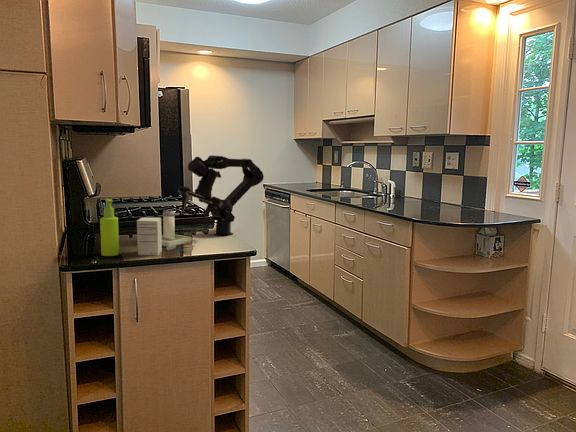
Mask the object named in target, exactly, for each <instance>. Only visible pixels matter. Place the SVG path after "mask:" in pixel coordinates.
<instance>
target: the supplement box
mask: <svg viewBox="0 0 576 432" xmlns="http://www.w3.org/2000/svg"><path fill="white" fill-rule="evenodd" d="M161 235H162V217H140V218H138V219H137V220H136V236H137V242H136V243H137V256H159V255H160V253H161V252H162V251H163V248H162V247H163V246H162V237H161Z"/></svg>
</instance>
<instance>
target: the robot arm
mask: <svg viewBox="0 0 576 432" xmlns="http://www.w3.org/2000/svg"><path fill="white" fill-rule="evenodd" d="M230 167H231V168H234V167H235V168H241V170H242V173H243V178H242V181H241V182H240V183H238V185H237V186H236V187H235V188H234V189H233V190H232V191H231V192H230V193H229V194H228V195H227V197H226V198H225V199H221V198H219V197H216V196H212V191H213V186H214V184H215V182H216V179H217V178H219V179H221V178H222V175H221V173H220V171H219V170H223V169H224V170H225V169H226V168H230ZM187 169H188V171H189V172H191V173H193V174H194V175H195V176H196V177H199V178H200V180H199V181H198V185H197V186H196V187H197V188H196V189H195V190H194V191H191V189H190V187H186V186H184V185H181V186H179V187H178V189H177V192H178V193H179V195H180V196H181V212H182V213H184V211H185V209H186V207H187V205H188V201H189V200H190V197H192V198H195V199H198V201H199V202H200V203H204V204H206V208H205V210H204V212H203V214H202V218H201V220H204V219H206V218H207V216H208V215H209V214H211V216H212V220H213V221H216V223H215V232H213V235H215V236H216V235H217V236H221V237H226V236H227V237H228V236H231V235H233V234H234V232H231V228H232V227H231V225H232V222H234V221H235V218H236V217H235V215H234V214H233V213H232V212H233V207H234V206H235V205H236V204H237V203H238V202H239V200H240V199H242V197H244V195H246V193H248V191H249V190H250V189H251V188H253V187H255V186H257V185H259V184H261V183H262V181H264V173H263V171H262V170H261V169H260V167H259V166H258V165H256V164H255V163H254V162H253V160H252V159H250V158H228V157H227V156H223V155H208V157H207V159H205V160H203V159H202V157H200V156H195V157H194V159H193V158H192V160H191V161H190V162H189V163H188V165H187ZM217 170H218V171H217Z"/></svg>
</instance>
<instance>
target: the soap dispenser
mask: <svg viewBox="0 0 576 432" xmlns="http://www.w3.org/2000/svg"><path fill="white" fill-rule="evenodd" d="M104 200H105V207H104V208H103V216H102V217H100V218H99V223H100V225H99V227H100V228H99V229H100V252H101V253H100V254H101V256H102V257H115V256H118V255H119V254H120V240H119V217H117V216H115V207H113V206H112V203H113V199H112V198H105V199H104Z"/></svg>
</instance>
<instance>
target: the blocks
mask: <svg viewBox="0 0 576 432" xmlns="http://www.w3.org/2000/svg"><path fill="white" fill-rule="evenodd" d="M195 246H196V245H193V244H186V245H184V246H183V247H184V249H183V252H184V253H189V252H191V251H193V250H194V247H195ZM174 249H177V246H176V245H172V246H169V247H166V251H171V250H174Z"/></svg>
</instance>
